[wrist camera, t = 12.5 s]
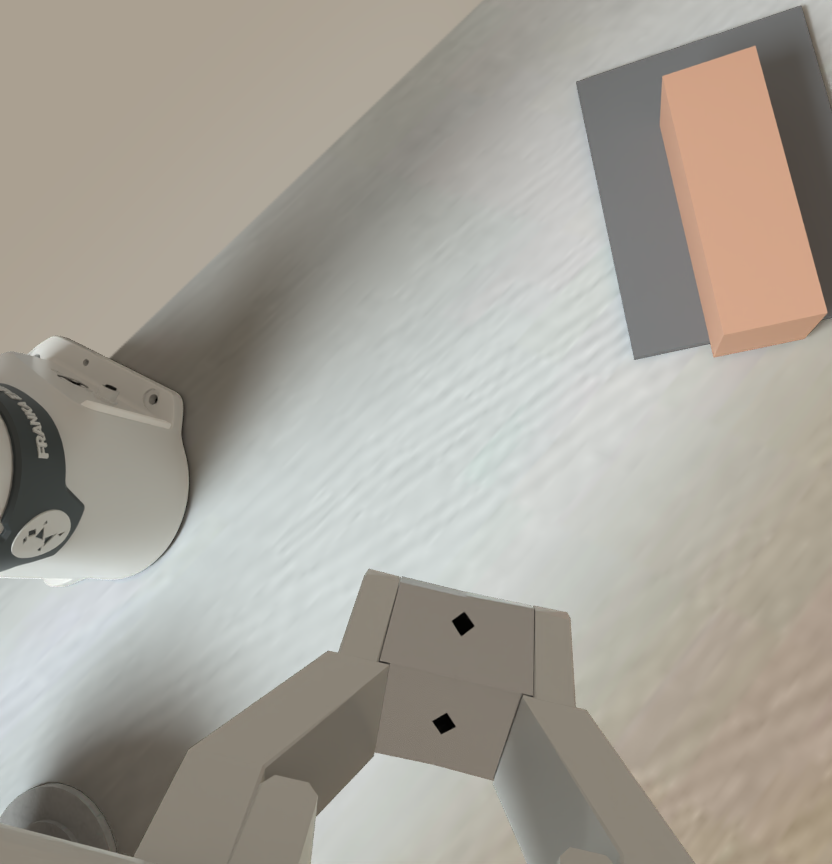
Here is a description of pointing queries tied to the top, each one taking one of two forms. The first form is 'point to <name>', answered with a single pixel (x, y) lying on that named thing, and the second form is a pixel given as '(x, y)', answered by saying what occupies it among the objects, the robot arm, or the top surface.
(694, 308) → the charcoal mat
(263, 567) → the top surface
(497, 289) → the top surface
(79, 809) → the mate gourd
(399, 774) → the top surface
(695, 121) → the terracotta block
